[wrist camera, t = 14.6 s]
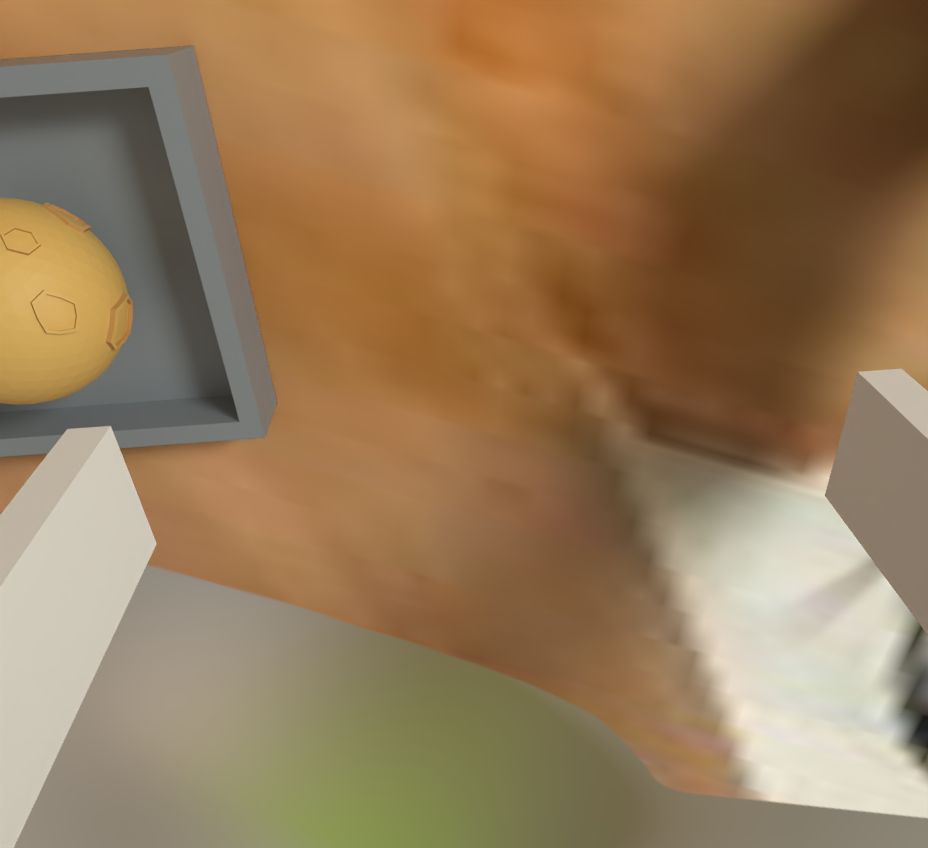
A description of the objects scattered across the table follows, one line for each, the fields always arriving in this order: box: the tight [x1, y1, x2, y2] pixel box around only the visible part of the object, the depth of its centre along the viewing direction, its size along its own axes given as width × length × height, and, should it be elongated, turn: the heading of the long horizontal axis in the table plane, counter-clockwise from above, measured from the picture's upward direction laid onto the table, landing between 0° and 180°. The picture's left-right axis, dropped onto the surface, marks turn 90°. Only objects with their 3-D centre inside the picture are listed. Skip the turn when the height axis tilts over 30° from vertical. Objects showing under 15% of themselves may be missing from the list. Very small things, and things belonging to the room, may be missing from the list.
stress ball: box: [0, 198, 133, 405], centre depth 35 cm, size 10×10×10 cm
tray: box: [0, 46, 277, 457], centre depth 38 cm, size 20×20×4 cm
